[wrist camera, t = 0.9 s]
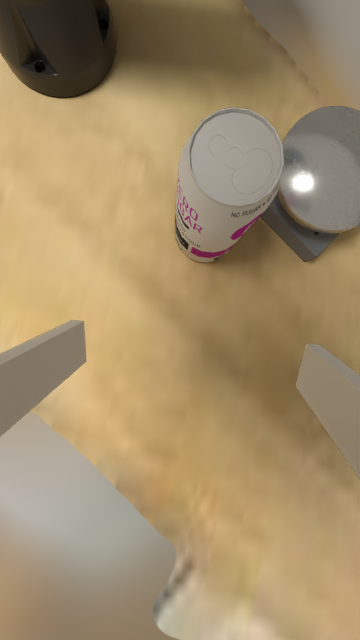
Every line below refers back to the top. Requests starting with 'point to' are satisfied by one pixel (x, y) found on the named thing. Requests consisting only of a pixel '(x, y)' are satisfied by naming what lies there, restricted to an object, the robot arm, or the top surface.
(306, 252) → the scale frame
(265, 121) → the supplement can
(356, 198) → the scale plate
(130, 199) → the top surface
